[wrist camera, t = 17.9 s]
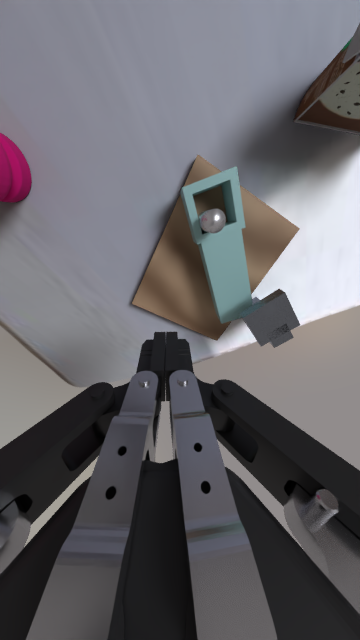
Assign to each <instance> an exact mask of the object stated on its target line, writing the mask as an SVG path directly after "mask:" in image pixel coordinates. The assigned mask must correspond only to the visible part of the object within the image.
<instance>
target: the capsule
mask: <svg viewBox="0 0 360 640" xmlns="http://www.w3.org/2000/svg"><path fill="white" fill-rule="evenodd" d="M198 219H199V223H200V228H201V230H203V231H206V232H209V233H218V232H220V231H221V230H222V229H223V228H224V226H225V222H226V218H225V214H224V213H223V211H221V210H220V209H211V210H207V211H203V212H200V213H199V214H198Z"/></svg>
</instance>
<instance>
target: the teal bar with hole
mask: <svg viewBox="0 0 360 640" xmlns="http://www.w3.org/2000/svg"><path fill="white" fill-rule="evenodd" d="M218 186H221V187H222V193H223V199H224V204H225V210H226V215H227V221H228V222H226V223H225V226H224V228H223V229H222V230H221V231H220V232H218V233H209V232H206V231H201V228H200V223H199V219H198V215H197V211H196V207H195V203H194V199H193V196H195V195H198V194H200V193H203V192H205V191H208V190H211V189H213V188H216V187H218ZM180 194H181V198H182V201H183V205H184V209H185V212H186V216H187V220H188V223H189V227H190V231H191V234H192V238H193V242H195V243H196V244H198V247H199V250H200V254H201V258H202V262H203V266H204V270H205V273H206V277H207V281H208V285H209V289H210V292H211V296H212V300H213V304H214V308H215V311H216V314H217V316H218V318H219V320H220V322H221V324H223V323H226V322H229V321H232V320H236V319H239V318H242V317H241V315H240V313H241V312H242V311H244V310H246V309H247V308H249V307H250V306H252V305H253V303H252V297H251V290H250V283H249V277H248V270H247V263H246V257H245V250H244V243H243V236H242V230H241V229H242V228H245V220H244V213H243V206H242V199H241V191H240V184H239V177H238V170H237V166H236V167H233V168H231V169H228V170H225V171H223V172H220V173H218V174H215V175H213V176H210V177H208V178H205V179H203V180H200V181H198V182H195V183H192V184H190V185H187V186H185V187H182V189H181V191H180Z"/></svg>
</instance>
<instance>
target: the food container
mask: <svg viewBox="0 0 360 640" xmlns="http://www.w3.org/2000/svg"><path fill="white" fill-rule="evenodd" d="M293 122H295V123H301V124H306V125H311V126H316V127H321V128H326V129H331V130H337V131H342V132H347V133H352V134H357V135H360V24H359V26H358V28H357V30H356V32H355V34H354V36H353V37H352V38H351V39H350V41H349V42H348V43H347V44H346V45H345V46H344V48H343V49H342V50H341V51H340V52H339V53H338V55H337V56H336V57H335V58H334V59H333V60H332V61H331V63H330V64H329V65H328V66H327V67H326V68H325V70H324V71H323V72H322V73H321V74H320V75H319V77H318V78H317V79H316V80H315V81H314V82H313V84H312V85H311V86H310V88H309V89H308V91H307V92H306V94H305V96H304V97H303V99H302V101H301V103H300V105H299V107H298V109H297V112H296V115H295V118H294V121H293Z"/></svg>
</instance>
